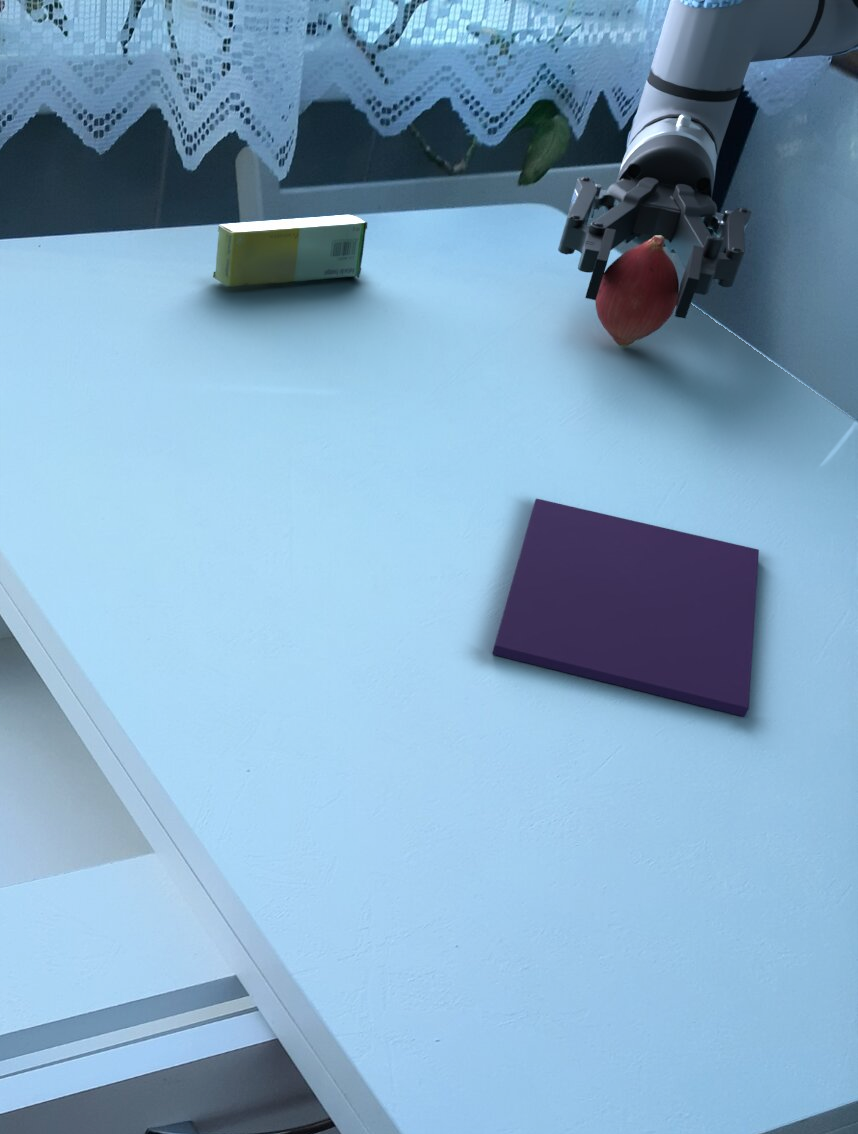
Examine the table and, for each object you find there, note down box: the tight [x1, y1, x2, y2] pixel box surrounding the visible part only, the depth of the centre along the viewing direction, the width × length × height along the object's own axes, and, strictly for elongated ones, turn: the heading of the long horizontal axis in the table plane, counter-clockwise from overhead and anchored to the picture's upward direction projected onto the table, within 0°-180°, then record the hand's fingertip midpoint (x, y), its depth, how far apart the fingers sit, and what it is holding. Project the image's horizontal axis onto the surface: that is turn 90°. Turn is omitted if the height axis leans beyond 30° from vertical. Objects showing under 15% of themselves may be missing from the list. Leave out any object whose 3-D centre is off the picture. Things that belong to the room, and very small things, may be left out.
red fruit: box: [594, 235, 680, 347], centre depth 112 cm, size 6×6×8 cm
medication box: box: [212, 214, 368, 288], centre depth 117 cm, size 12×3×4 cm, turn 114°
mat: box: [492, 498, 760, 717], centre depth 90 cm, size 14×18×1 cm
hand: (641, 288), depth 107 cm, fingers closed on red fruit, 6 cm apart
